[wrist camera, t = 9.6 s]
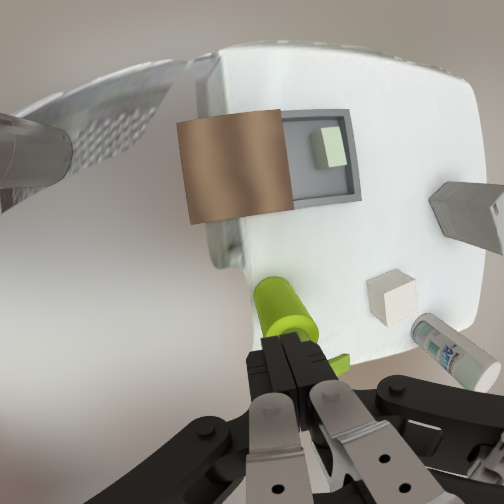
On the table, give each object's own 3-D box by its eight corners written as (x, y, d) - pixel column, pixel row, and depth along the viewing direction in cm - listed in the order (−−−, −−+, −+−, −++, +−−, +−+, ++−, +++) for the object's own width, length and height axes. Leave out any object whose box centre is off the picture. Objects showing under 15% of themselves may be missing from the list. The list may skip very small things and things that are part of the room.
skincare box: (461, 217, 42) (524, 231, 27) (440, 239, 42) (504, 260, 27) (446, 178, 40) (513, 182, 25) (424, 199, 41) (492, 208, 25)
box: (287, 207, 39) (292, 208, 36) (275, 116, 36) (278, 111, 33) (352, 199, 40) (361, 200, 37) (341, 114, 37) (349, 109, 34)
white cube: (365, 280, 43) (383, 293, 37) (395, 268, 43) (415, 279, 37) (370, 312, 44) (387, 327, 38) (399, 299, 44) (417, 313, 38)
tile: (329, 167, 33) (347, 164, 33) (320, 128, 32) (339, 126, 32) (316, 169, 38) (333, 167, 38) (309, 135, 36) (326, 133, 37)
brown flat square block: (194, 221, 38) (190, 224, 34) (181, 129, 35) (176, 123, 32) (287, 207, 39) (294, 209, 35) (275, 116, 36) (280, 109, 32)
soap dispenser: (302, 306, 43) (352, 388, 23) (258, 317, 42) (280, 408, 23) (296, 271, 41) (350, 338, 22) (250, 281, 41) (270, 360, 22)
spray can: (432, 337, 47) (493, 388, 28) (408, 345, 47) (468, 404, 27) (436, 308, 46) (505, 355, 26) (412, 316, 45) (481, 371, 26)
